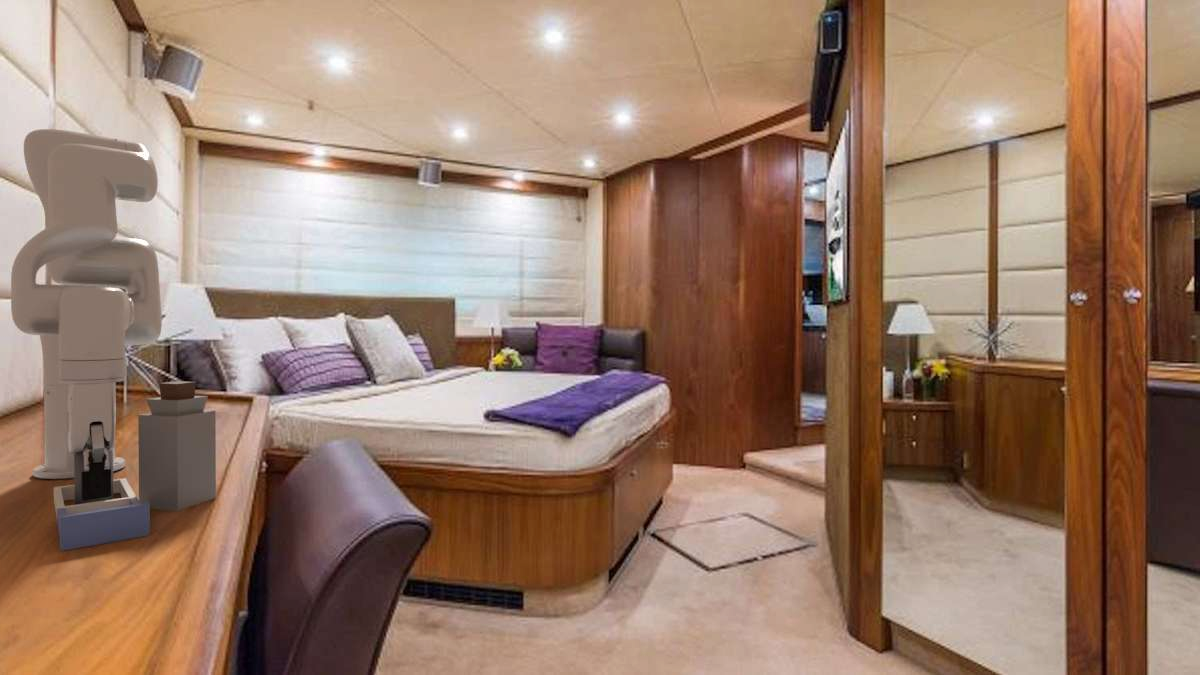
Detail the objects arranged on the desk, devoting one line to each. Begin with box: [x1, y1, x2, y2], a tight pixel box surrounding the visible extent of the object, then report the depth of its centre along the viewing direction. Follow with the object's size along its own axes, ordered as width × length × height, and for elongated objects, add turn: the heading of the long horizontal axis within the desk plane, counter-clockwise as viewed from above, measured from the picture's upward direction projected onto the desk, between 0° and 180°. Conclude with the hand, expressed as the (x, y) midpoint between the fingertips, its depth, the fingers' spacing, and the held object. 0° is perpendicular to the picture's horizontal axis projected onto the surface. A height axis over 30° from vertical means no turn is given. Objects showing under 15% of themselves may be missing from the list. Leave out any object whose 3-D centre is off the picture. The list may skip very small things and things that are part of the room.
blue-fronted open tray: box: [53, 477, 151, 552], centre depth 87 cm, size 26×9×4 cm, turn 42°
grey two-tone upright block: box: [73, 449, 114, 505], centre depth 92 cm, size 4×4×8 cm
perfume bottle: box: [137, 380, 217, 512], centre depth 94 cm, size 7×7×18 cm
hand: (94, 491), depth 92 cm, fingers open, 7 cm apart
